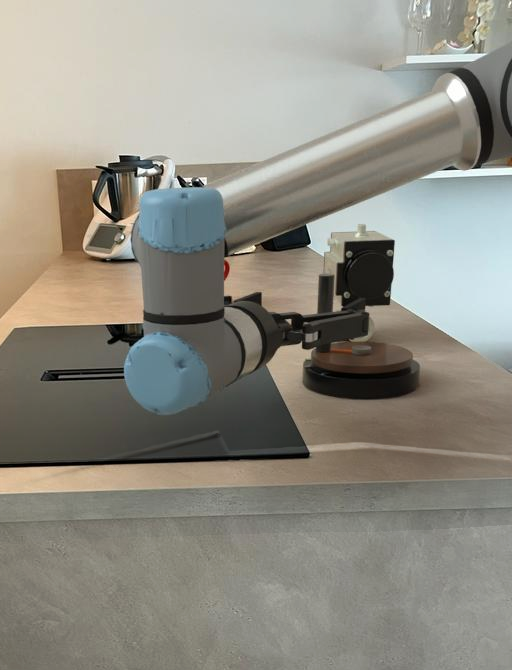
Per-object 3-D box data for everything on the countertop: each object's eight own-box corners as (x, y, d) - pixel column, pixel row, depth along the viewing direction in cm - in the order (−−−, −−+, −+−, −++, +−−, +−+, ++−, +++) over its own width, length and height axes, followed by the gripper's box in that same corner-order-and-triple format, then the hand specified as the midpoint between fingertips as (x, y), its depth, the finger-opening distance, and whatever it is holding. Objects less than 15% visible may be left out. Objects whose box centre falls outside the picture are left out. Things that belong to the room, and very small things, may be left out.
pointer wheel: (417, 351, 107) (424, 268, 102) (406, 376, 96) (414, 285, 91) (321, 346, 112) (324, 267, 107) (301, 370, 101) (304, 282, 96)
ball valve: (317, 327, 136) (321, 220, 129) (366, 326, 136) (373, 218, 129) (333, 352, 120) (339, 231, 113) (389, 351, 119) (399, 229, 112)
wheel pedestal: (422, 371, 108) (424, 352, 107) (412, 403, 96) (414, 381, 95) (313, 364, 114) (314, 346, 113) (290, 394, 101) (291, 373, 100)
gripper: (133, 365, 89) (220, 328, 106) (345, 391, 77) (407, 344, 93) (130, 299, 86) (219, 271, 103) (350, 315, 74) (412, 280, 90)
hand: (308, 306), depth 98 cm, fingers open, 13 cm apart
